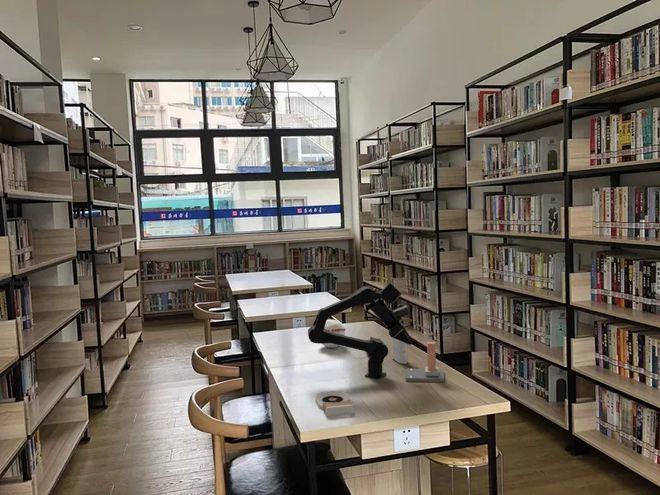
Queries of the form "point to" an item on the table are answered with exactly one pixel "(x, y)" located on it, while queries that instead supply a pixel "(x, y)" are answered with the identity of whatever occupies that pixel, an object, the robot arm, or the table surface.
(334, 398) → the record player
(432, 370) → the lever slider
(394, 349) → the photo printer
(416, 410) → the table surface
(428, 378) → the track board
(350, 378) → the table surface
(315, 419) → the table surface
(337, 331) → the white piece
